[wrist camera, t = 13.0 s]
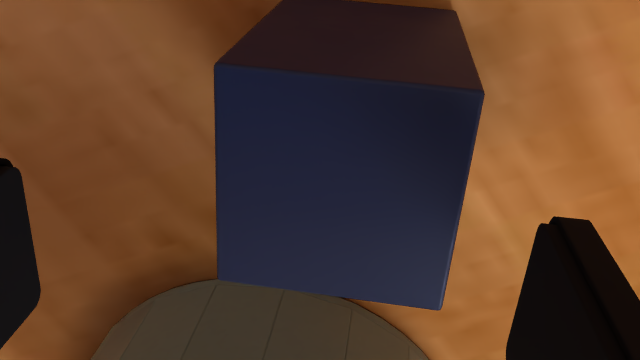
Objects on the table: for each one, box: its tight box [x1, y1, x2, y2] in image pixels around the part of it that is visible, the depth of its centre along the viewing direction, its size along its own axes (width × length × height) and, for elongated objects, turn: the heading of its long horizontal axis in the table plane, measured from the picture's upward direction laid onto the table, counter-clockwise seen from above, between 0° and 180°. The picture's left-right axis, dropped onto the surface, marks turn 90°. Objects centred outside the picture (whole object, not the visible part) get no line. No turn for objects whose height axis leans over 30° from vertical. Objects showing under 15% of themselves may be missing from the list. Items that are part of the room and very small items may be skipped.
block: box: [214, 0, 485, 310], centre depth 15 cm, size 5×5×8 cm
